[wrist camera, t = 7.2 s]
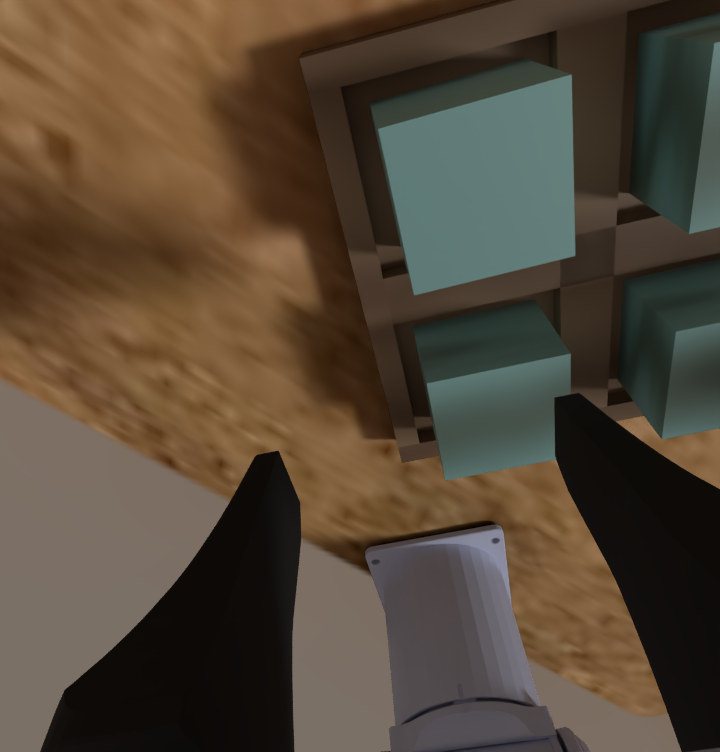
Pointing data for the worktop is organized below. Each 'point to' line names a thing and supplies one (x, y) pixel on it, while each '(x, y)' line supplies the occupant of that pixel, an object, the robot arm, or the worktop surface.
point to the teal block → (480, 173)
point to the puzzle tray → (592, 231)
